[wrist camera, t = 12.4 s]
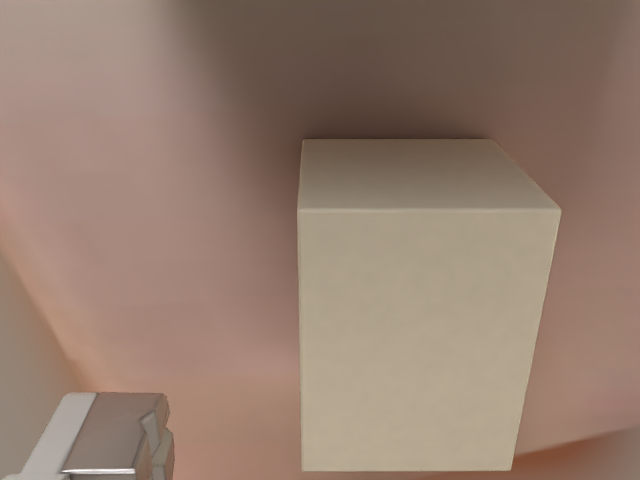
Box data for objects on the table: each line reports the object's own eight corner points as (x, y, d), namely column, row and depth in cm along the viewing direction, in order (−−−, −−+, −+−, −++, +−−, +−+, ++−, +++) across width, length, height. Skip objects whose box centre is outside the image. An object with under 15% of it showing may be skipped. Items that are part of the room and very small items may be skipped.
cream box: (301, 137, 15) (297, 209, 10) (493, 138, 15) (563, 209, 11) (304, 350, 17) (301, 473, 13) (464, 350, 17) (511, 472, 13)
